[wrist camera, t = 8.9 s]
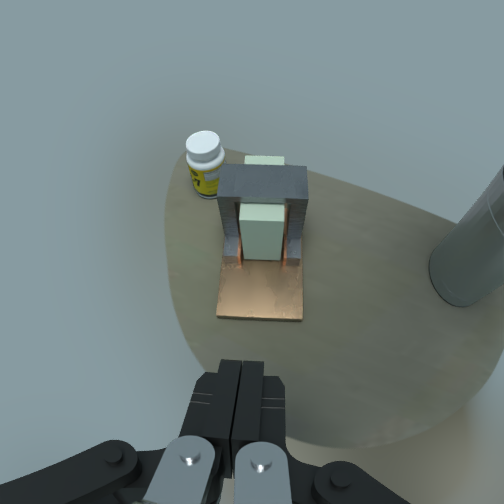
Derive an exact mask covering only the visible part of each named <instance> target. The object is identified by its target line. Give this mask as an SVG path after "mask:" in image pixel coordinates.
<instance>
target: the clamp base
mask: <svg viewBox="0 0 504 504" xmlns="http://www.w3.org/2000/svg"><path fill="white" fill-rule="evenodd" d="M217 201H218V205H219V210H220V215H221V220H222V224H223V229H224V234H225V237H224V246H223V255H222V265H221V274H220V284H219V294H218V304H217V314H216V315H217V317H218V318H223V319H241V320H262V321H293V322H301V321H302V319H303V266H302V230H303V225H304V220H305V215H306V209H307V204H308V182H307V167H306V166H291V165H262V164H222V165H221V171H220V178H219V184H218V191H217ZM241 202H258V203H284V229H283V239H282V249H281V258H280V260H255V259H244V254H243V246H242V238H241V230H240V222H239V217H240V206H241Z"/></svg>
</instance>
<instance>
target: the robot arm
mask: <svg viewBox="0 0 504 504" xmlns="http://www.w3.org/2000/svg"><path fill="white" fill-rule="evenodd" d="M429 270H430V276H431V280H432V282H433V285H434V287H435V289H436V290H437V292H438V293H439V294H440V295H441V297H442V298H443V299H444V300H446V301H447V302H449V303H450V304H452V305H455V306H459V307H465V306H469V305H471V304H473V303H475V302H476V301H478V300H479V299H481V298H482V297H484V296H486V295H487V294H489V293H490V292H492V291H493V290H495V289H496V288H498V287H499V286H501V285H502V284H504V165H503V166H502V168H501V169H500V171H499V172H498V173H497V175H496V176H495V177H494V179H493V180H492V181H491V183H490V184H489V186H488V187H487V188H486V190H485V191H484V192H483V193H482V195H481V196H480V197H479V198H478V200H477V201H476V202H475V203H474V205H473V206H472V207H471V208H470V209H469V211H468V212H467V213H466V214H465V215H464V217H463V218H462V219H461V220H460V221H459V223H458V224H457V225H456V226H455V227H454V228H453V230H452V231H451V232H450V233H449V234H448V235H447V236H446V237H445V238H444V240H443V241H442V242H441V243H440V244H439V245H438V246H437V247H436V248H435V250H434V251H433V253H432V255H431V258H430V263H429ZM263 374H264V362H259V361H243V366H242V361H239V360H224V359H221V362H220V365H219V369H218V373H211V372H205V373H204V374H203V375H202V376H201V377H200V378H199V379H198V380H197V382H196V385H195V388H194V391H193V394H192V397H191V401H190V403H189V407H188V410H187V413H186V416H185V419H184V422H183V425H182V429H181V432H180V435H179V437H178V438H176V439H175V440H173V441H172V442H170V444H169V445H168V446H167V447H166V448H164V449H160V450H153V451H135V449H134V448H133V447H132V446H131V445H130V444H128V443H127V442H124V441H120V440H109V441H106V442H103V443H101V444H99V445H97V446H94V447H92V448H91V449H88V450H86V451H84V452H81V453H79V454H77V455H75V456H73V457H70V458H68V459H66V460H63V461H61V462H59V463H56V464H54V465H52V466H49V467H46V468H44V469H42V470H39V471H36V472H34V473H31V474H29V475H26V476H23V477H21V478H18V479H15V480H13V481H10V482H7V483H4V484H1V485H0V504H219V502H220V499H221V492H222V487H223V480H224V478H232V472H233V475H234V479H235V484H234V504H410V503H409V502H407V501H406V500H404V499H403V498H401V497H399V496H398V495H397V494H395V493H394V492H392V491H391V490H390V489H388V488H387V487H385V486H384V485H382V484H381V483H380V482H378V481H377V480H376V479H374V478H372V477H371V476H370V475H369V474H367V473H366V472H364V471H363V470H362V469H361V468H359V467H358V466H356V465H355V464H352V463H350V462H345V461H335V462H331V463H328V464H326V465H324V466H323V467H317V466H313V465H309V464H305V463H302V462H300V461H298V460H296V459H295V458H294V457H292V456H291V455H290V453H289V452H288V450H287V448H286V443H285V386H284V385H283V383H282V381H281V380H280V378H279V377H278V376H263Z"/></svg>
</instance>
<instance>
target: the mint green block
mask: <svg viewBox="0 0 504 504" xmlns="http://www.w3.org/2000/svg"><path fill="white" fill-rule="evenodd" d="M245 164H262V165H284V157H279V156H245ZM239 222H240V230H241V238H242V246H243V254H244V259H255V260H280V258H281V249H282V239H283V229H284V203H258V202H241V206H240V217H239Z"/></svg>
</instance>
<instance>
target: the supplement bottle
mask: <svg viewBox="0 0 504 504" xmlns="http://www.w3.org/2000/svg"><path fill="white" fill-rule="evenodd" d="M186 149H187V164H188V167H189V170H190V174H191V177H192V181H193V185H194V188H195V191H196V192H197V193H198V194H199V195H200V196H201V197H204V198H209V199H211V198H216V197H217V191H218V184H219V178H220V171H221V165H222V164H226V158H225V152H224V149H223V148H222V147H221V144H220V140H219V137H218V135H217V134H216V133H214V132H211V131H200V132H197V133H194V134H193V135H191V136H190V137H189V138H188V139H187V141H186Z"/></svg>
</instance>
